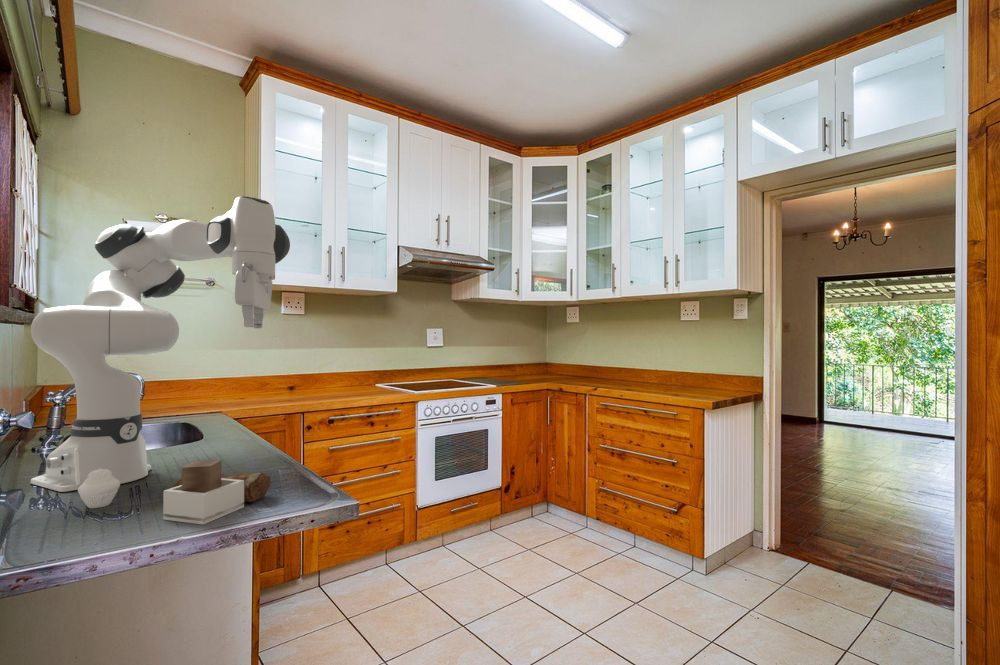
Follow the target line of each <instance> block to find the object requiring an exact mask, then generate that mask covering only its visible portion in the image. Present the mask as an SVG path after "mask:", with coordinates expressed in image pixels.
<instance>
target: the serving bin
mask: <svg viewBox="0 0 1000 665" xmlns="http://www.w3.org/2000/svg"><path fill="white" fill-rule="evenodd" d="M162 503H163V505H162V511H163V514H162V520H165V521H174V522H182V523H188V524H197V525H206V524H208V523H210V522H213V521H214V520H217V519H219V518H222V517H225V516H227V515H229V514H232V513H234V512H236V511H239V510H241V509H243V508H245V502H244V480H236V479H225V478H221V487H220V488H217V489H214V490H211V491H208V492H205V493H199V492H189V491H182V485H180V486H176V487H174V486H173V487H171V488H168V489H165V490H163V502H162Z"/></svg>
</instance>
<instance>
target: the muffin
mask: <svg viewBox="0 0 1000 665" xmlns="http://www.w3.org/2000/svg"><path fill="white" fill-rule="evenodd" d="M120 486H121V484H120V482H119V481H118V480H117V479H115V478H114V477H113V476H112V472H111V471H110V470H108V469H98V470H94V471H92V472H90V473H89V474H88V476H87V479H86V480H85V481H84V483H83V484H82V485H81V486H80V487H79V488H78V490H77V493H78V494H79V497H80V498H81V500H82V501H83V503H84V504H85V505H86V507H87V508H89V509H98V508H99V509H100V508H103V507H107V506H109V505H111V503H112V501H113V499H114V498H115V496H116V495H117V493H118V491H119V488H120Z"/></svg>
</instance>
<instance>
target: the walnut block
mask: <svg viewBox="0 0 1000 665" xmlns="http://www.w3.org/2000/svg"><path fill="white" fill-rule="evenodd" d="M221 475H222V459H216V460H215V459H211V460H208V459H206V460H194V461H192V462H189V463H188V464H185V465H184V466H183V467H181V479H182V491H189V492H199V493H205V492H208V491H211V490H214V489H217V488H220V487H221Z"/></svg>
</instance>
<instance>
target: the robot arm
mask: <svg viewBox="0 0 1000 665" xmlns="http://www.w3.org/2000/svg"><path fill="white" fill-rule="evenodd" d="M274 212H275V211H274V208H273V205H272V204H271V203H270V202H269V201H267V200H265V199H262V198H261V199H260V198H256V197H252V196H247V195H246V196H245V195H241V196H237V197H236V198H235V199H234V201H233V204H232V207H231V209H230V210H228V211H227V212H226V213H224V214H223V215H218V216H216V217H214V218H213V219H211V220H210V221H209V222H208V223H205V222H203V221H202V222H201V221H198V220H193V219H187V218H186V219H175V220H171V221H168V222H166V223H163V224H161V225H160V226H158V227H157V228H156V229H154V230H153V231H152V232H147V231H145V227H144V226H142V225H140V226H135V225H130V224H117V225H114V226H112V227H108V228H106V229H104V231H102V232H101V233H100V234H99V236H98V237H97V239H96V240H95V243H94V248H95V250H96V251H97V253H98V254H99V255H100V256H101V257H102V258H103V259H106V260H107V261H108V263H109V264H111V265H112V266H113V267H114V268H115V269H109V270H104V271H101V272H100V273H98V274H97V275H96V276H95V277H94V278H93V279H92V280H91V281H90V283H89V285H88V287H87V288H86V292H85V295H84V296H85V297H84V301H83V305H76V304H75V305H74V304H73V305H72V304H71V305H65V306H64V305H62V306H54V307H45V308H44V309H42V310H41V311H40V312H38V313H37V314H36V316H34V318H33V320H32V321H31V325H30V336H31V339H32V341H33V343H34V344H35V345H36V347H37V348H38V349H40V350H41V351H43V352H44V353H46V354H48V355H49V356H51V357H53V358H55V359H56V360H57V361H58V362H59V363H61V364H62V365H63V366H64V368H65V369H66V370H67V372H68V373H69V374H70V376H71V378H72V381H73V383H74V388H75V396H76V418H75V419H74V420H72V421H68V424H70V425H68V428H71V430H70V433H69V435H70V436H69V437H68V438H67V439H66V440H65V441H63V442H62V443H61V444H60V445H59V446H58V447H56V448H55V449H54V450H53V451H51V452H50V453H49V454H48V455H47V458H46V461H45V466H46V467H45V473H44V474H41V475H38V476H34V477H32V478H31V479H30V484H32V485H35V486H39V487H42V488H45V489H49V490H51V491H52V490H53V491H56V492H59V493H62V492H63V493H65V492H66V493H67V492H72V491H78V488H79V487H80V486H81V485H82V484H83V483H84V481H85V480H86V479H87V476H88V474H89V473H90V472H92V471H94V470H98V469H108V470H110V471H111V472H112V476H113V477H114V478H115V479H117V480H118V481H119V482H120V485H121V484H126V483H130V482H134V481H137V480H139V479H140V480H141V479H142V478H145V477H146V476H148V475H149V471H150V470H151V469H152V466H151V464H148V457H147V449H146V448H147V446H146V439H145V436H144V435H143V434H142V433H141V430H143V422H144V419H143V414H142V413H141V384H140V382H139V379H137V377H135V376H134V375H132V374H131V373H129V372H126V371H123V370H121V369H119V368H118V369H117V368H115V367H113V366H110V365H109V364H108V363H107V362H106V357H107V356H124V355H125V356H126V355H127V356H128V355H129V356H130V355H131V356H132V355H133V356H134V355H151V354H156V353H160V352H161V353H162V352H168V351H169V350H171V349H172V348H173V347H174V346H175V344H176V343H177V341H178V339H179V335H180V327H179V326H180V325H179V323H178V320H177V319H176V317H175V316H174V315H173V314H172V313H170V311H167V310H163V309H158V308H156V307H153V306H150V305H148V304H146V303H145V302H142V298H144V299H148V298H149V299H150V298H156V299H157V298H165V297H169V296H170V295H172V294H174V293H175V292H176V291H178V290H179V289H180V288H181V286H182V285H183V283H184V282H185V279H186V278H185V274H184V272H183V270H182V268H180V267H179V265H176V264H175V263H174V262H173V261H172V260H175V261H179V262H193V261H194V262H195V261H203V260H209V259H220V258H227V257H228V258H232V260H231V261H232V262H231V270H232V271H231V273H232V275H234V276H235V282H234V283H235V285H234V302H235V304H236V305H238V306H241V313H242V317H243V326H244V327H245V328H254V329H262V328H263V327H264V326H263V325H264V317H265V311H269V310H270V308H271V305H272V304H271V303H272V297H273V296H272V295H273V294H272V293H273V281H275V280H276V264H278V263H280V262H281V261H282V260H283V259H284V258H285V257H287V255H288V254H289V252H290V249H291V240H290V237H289V235H288V234H287V232H286V231H285V230H284V228H283V227H282V226H281V225H279V224H276V220H275V219H276V218H275V213H274Z"/></svg>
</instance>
